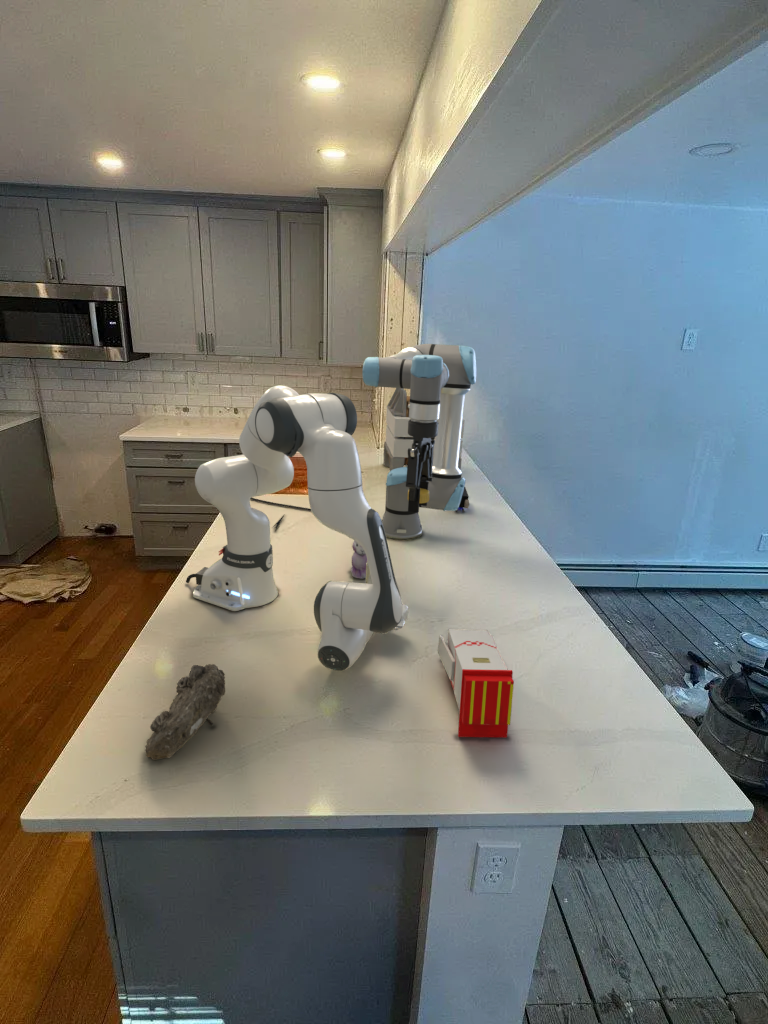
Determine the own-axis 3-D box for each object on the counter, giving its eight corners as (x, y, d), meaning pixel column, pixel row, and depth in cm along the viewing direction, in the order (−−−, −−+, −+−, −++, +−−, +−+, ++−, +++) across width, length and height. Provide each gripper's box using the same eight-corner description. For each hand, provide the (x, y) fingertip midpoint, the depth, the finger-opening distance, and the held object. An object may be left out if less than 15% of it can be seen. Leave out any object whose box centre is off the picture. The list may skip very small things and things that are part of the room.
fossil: (174, 665, 116) (226, 633, 111) (207, 696, 118) (259, 665, 113) (119, 753, 96) (179, 718, 91) (161, 787, 99) (221, 755, 94)
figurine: (357, 582, 163) (358, 534, 158) (342, 568, 171) (343, 521, 166) (386, 576, 167) (388, 529, 162) (370, 563, 176) (372, 517, 171)
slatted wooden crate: (382, 463, 289) (386, 382, 275) (445, 464, 293) (451, 384, 279) (390, 482, 257) (394, 392, 243) (460, 483, 261) (468, 394, 247)
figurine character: (469, 517, 223) (463, 501, 236) (471, 500, 219) (465, 484, 233) (452, 516, 222) (447, 500, 236) (454, 499, 219) (449, 483, 232)
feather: (291, 508, 223) (294, 504, 222) (274, 533, 196) (277, 528, 195) (287, 506, 222) (290, 502, 222) (270, 530, 196) (272, 526, 195)
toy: (488, 613, 130) (523, 677, 101) (484, 667, 133) (517, 744, 104) (435, 612, 130) (455, 676, 101) (432, 666, 133) (451, 743, 103)
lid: (405, 502, 145) (406, 493, 144) (408, 495, 150) (409, 487, 150) (427, 504, 144) (428, 495, 144) (429, 497, 150) (430, 488, 149)
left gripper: (401, 618, 127) (416, 591, 140) (317, 602, 133) (338, 577, 145) (400, 642, 130) (414, 613, 142) (317, 625, 135) (337, 599, 147)
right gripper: (422, 412, 150) (416, 496, 158) (395, 424, 134) (390, 516, 142) (449, 416, 147) (442, 500, 155) (425, 427, 131) (418, 521, 139)
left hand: (375, 595), depth 144 cm, fingers closed on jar, 5 cm apart
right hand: (417, 508), depth 148 cm, fingers closed on lid, 5 cm apart
